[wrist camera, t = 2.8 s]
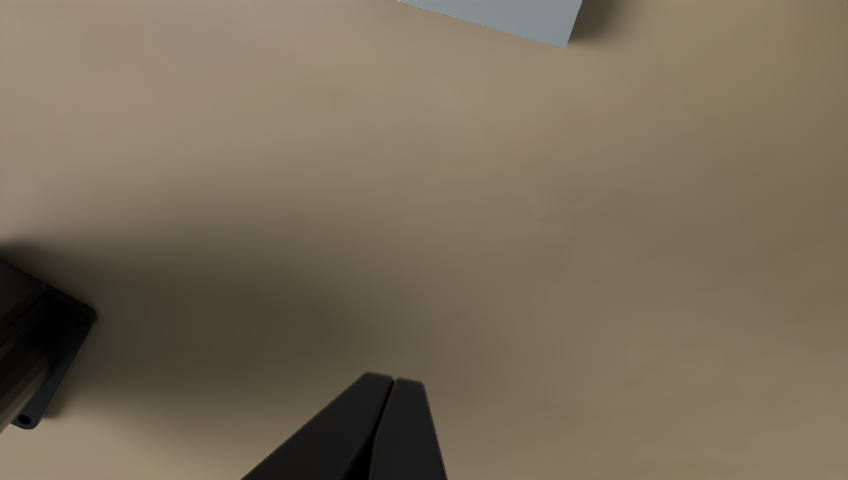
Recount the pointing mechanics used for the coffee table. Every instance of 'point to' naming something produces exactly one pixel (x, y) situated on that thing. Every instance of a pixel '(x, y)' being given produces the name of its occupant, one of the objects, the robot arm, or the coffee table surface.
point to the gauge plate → (513, 16)
